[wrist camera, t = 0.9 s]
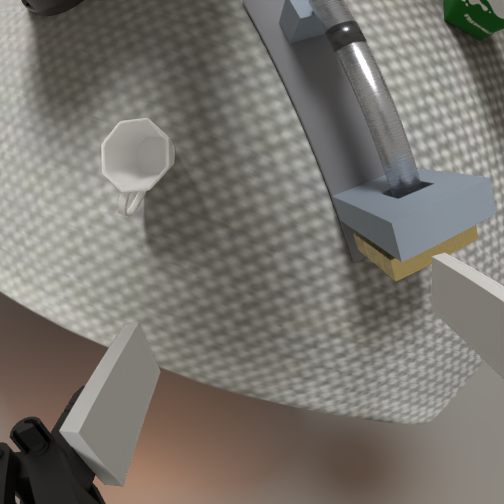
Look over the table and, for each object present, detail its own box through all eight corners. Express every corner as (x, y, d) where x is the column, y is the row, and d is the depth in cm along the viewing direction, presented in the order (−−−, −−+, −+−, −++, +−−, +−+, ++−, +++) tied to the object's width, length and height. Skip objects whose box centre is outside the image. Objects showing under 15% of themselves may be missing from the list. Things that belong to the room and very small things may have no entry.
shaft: (305, 7, 22) (311, -7, 19) (334, 1, 22) (343, -13, 19) (403, 258, 29) (418, 269, 26) (427, 247, 29) (443, 255, 26)
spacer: (353, 233, 33) (390, 260, 24) (423, 202, 32) (474, 218, 23) (358, 249, 33) (395, 281, 24) (427, 218, 32) (478, 238, 23)
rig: (242, 3, 28) (243, -79, 13) (318, -16, 27) (355, -91, 12) (352, 261, 37) (414, 323, 22) (419, 230, 36) (501, 272, 21)
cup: (197, 136, 33) (183, 129, 25) (166, 219, 35) (146, 235, 28) (141, 117, 32) (114, 107, 24) (113, 199, 34) (81, 210, 27)
